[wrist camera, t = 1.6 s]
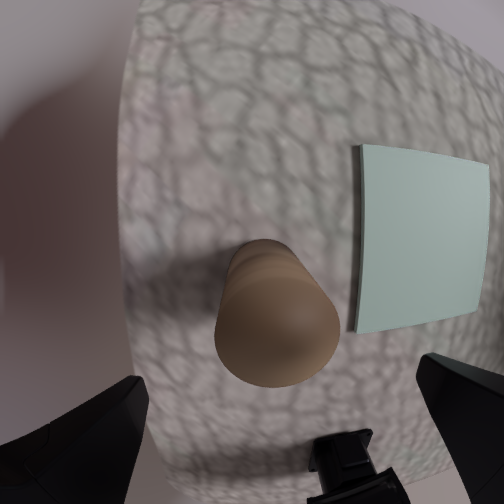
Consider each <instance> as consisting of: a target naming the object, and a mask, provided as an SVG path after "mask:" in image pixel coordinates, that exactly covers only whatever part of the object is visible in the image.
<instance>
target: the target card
mask: <svg viewBox="0 0 504 504" xmlns="http://www.w3.org/2000/svg"><path fill="white" fill-rule="evenodd" d="M359 147H360V166H361V252H360V271H359V285H358V297H357V308H356V317H355V326H354V332H355V333H356V334H362V333H369V332H376V331H383V330H389V329H395V328H401V327H406V326H412V325H417V324H422V323H427V322H432V321H437V320H442V319H446V318H450V317H455V316H459V315H463V314H467V313H471V312H475V311H477V307H478V303H479V298H480V293H481V287H482V282H483V276H484V269H485V262H486V253H487V244H488V232H489V211H490V182H489V165H486V164H482V163H478V162H474V161H470V160H465V159H461V158H456V157H451V156H446V155H441V154H435V153H429V152H423V151H417V150H410V149H403V148H395V147H387V146H378V145H368V144H361V145H359Z"/></svg>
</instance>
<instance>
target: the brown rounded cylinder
mask: <svg viewBox="0 0 504 504" xmlns="http://www.w3.org/2000/svg"><path fill="white" fill-rule="evenodd" d="M339 336H340V321H339V317H338V313H337V311H336V309H335V307H334V305H333V304H332V302H331V300H330V299H329V298H328V297H327V295H326V294H325V293H324V291H323V290H322V289H321V287H320V286H319V285H318V284H317V282H316V281H315V280H314V278H313V277H312V276H311V275H310V273H309V272H308V271H307V269H306V268H305V267H304V266H303V264H302V263H301V262H300V261H299V259H298V258H297V257H296V255H295V254H294V253H293V252H292V251H291V250H290V249H289V248H288V247H287V246H286V245H284V244H283V243H280V242H278V241H275V240H271V239H259V240H254V241H252V242H249V243H247V244H245V245H244V246H242V247H241V248H240V249H239V250H238V251H237V252H236V253H235V255H234V256H233V258H232V260H231V262H230V265H229V269H228V273H227V278H226V282H225V286H224V291H223V295H222V299H221V304H220V308H219V313H218V317H217V322H216V326H215V334H214V338H215V346H216V350H217V353H218V356H219V358H220V360H221V361H222V363H223V364H224V366H225V367H226V368H227V369H228V370H229V371H230V372H231V373H232V374H233V375H235V376H236V377H238V378H239V379H241V380H243V381H245V382H247V383H249V384H253V385H256V386H261V387H269V388H278V387H286V386H290V385H294V384H297V383H300V382H302V381H304V380H307V379H308V378H310V377H312V376H313V375H315V374H316V373H317V372H319V371H320V370H321V369H322V368H323V367H324V366H325V365H326V364H327V363H328V361H329V360H330V359H331V357H332V356H333V354H334V352H335V350H336V348H337V345H338V342H339Z"/></svg>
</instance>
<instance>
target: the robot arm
mask: <svg viewBox="0 0 504 504" xmlns="http://www.w3.org/2000/svg"><path fill="white" fill-rule="evenodd" d="M416 381H417V383H418V386H419V388H420V390H421V393H422V395H423V398H424V400H425V403H426V405H427V408H428V410H429V413H430V415H431V417H432V419H433V421H434V423H435V425H436V426H437V428H438V430H439V432H440V434H441V436H442V438H443V440H444V442H445V445H446V447H447V449H448V451H449V453H450V455H451V457H452V459H453V461H454V464H455V466H456V468H457V470H458V472H459V475H460V477H461V479H462V482H463V484H464V486H465V489H466V491H467V493H468V496H469V499H470V501H471V504H504V376H503V375H500V374H496V373H493V372H490V371H487V370H484V369H481V368H478V367H475V366H472V365H469V364H466V363H463V362H460V361H457V360H454V359H451V358H448V357H445V356H442V355H439V354H436V353H428V354H424V355H423V356H422V357H421V359H420V363H419V366H418V369H417V373H416ZM148 405H149V396H148V392H147V389H146V386H145V383H144V380H143V378H142V377H141V376H133V375H130V376H127V377H126V378H124V379H123V380H121V381H119V382H118V383H116V384H114V385H113V386H111V387H110V388H108V389H106V390H105V391H103V392H101V393H100V394H98V395H96V396H95V397H93V398H91V399H90V400H88V401H86V402H85V403H83V404H81V405H79V406H78V407H76V408H74V409H73V410H71V411H69V412H67V413H66V414H64V415H62V416H61V417H59V418H57V419H55V420H53V421H51V422H50V424H46V425H44V426H43V427H41V428H39V429H37V430H35V431H33V432H31V433H29V434H27V435H25V436H22V437H20V438H18V439H15V440H13V441H10V442H8V443H5V444H3V445H1V446H0V504H124V502H125V498H126V494H127V490H128V487H129V483H130V479H131V476H132V473H133V469H134V466H135V463H136V459H137V456H138V453H139V449H140V446H141V442H142V438H143V432H144V427H145V421H146V415H147V410H148ZM372 434H373V431H372V430H371V429H367V430H363V431H358V432H354V433H349V434H344V435H338V436H333V437H327V438H320V439H316V440H315V441H314V442H313V448H312V453H311V458H310V463H309V468H308V469H309V472H317V471H318V475H319V479H320V483H321V487H322V492H323V495H319V496H316V497H310V498H307V504H411V503H410V500H409V498H408V495H407V493H406V492H405V489H404V488H403V486H402V484H401V482H400V481H399V479H398V477H397V475H396V474H395V472H394V470H393V468H392V467H390V468H388V469H386V470H385V471H383V472H381V473H379V474H377V472H376V470H375V467H374V465H373V462H372V460H371V458H370V456H369V453H368V451H367V447H368V445H369V442H370V440H371V437H372Z"/></svg>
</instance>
